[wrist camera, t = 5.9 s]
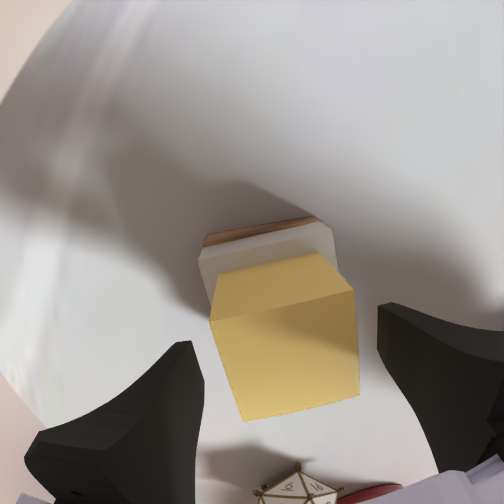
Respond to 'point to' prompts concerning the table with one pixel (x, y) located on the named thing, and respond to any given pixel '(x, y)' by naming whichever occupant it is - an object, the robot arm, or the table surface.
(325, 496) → the game die
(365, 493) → the canister
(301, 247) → the tower top slab
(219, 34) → the table surface
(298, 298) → the mustard cube
